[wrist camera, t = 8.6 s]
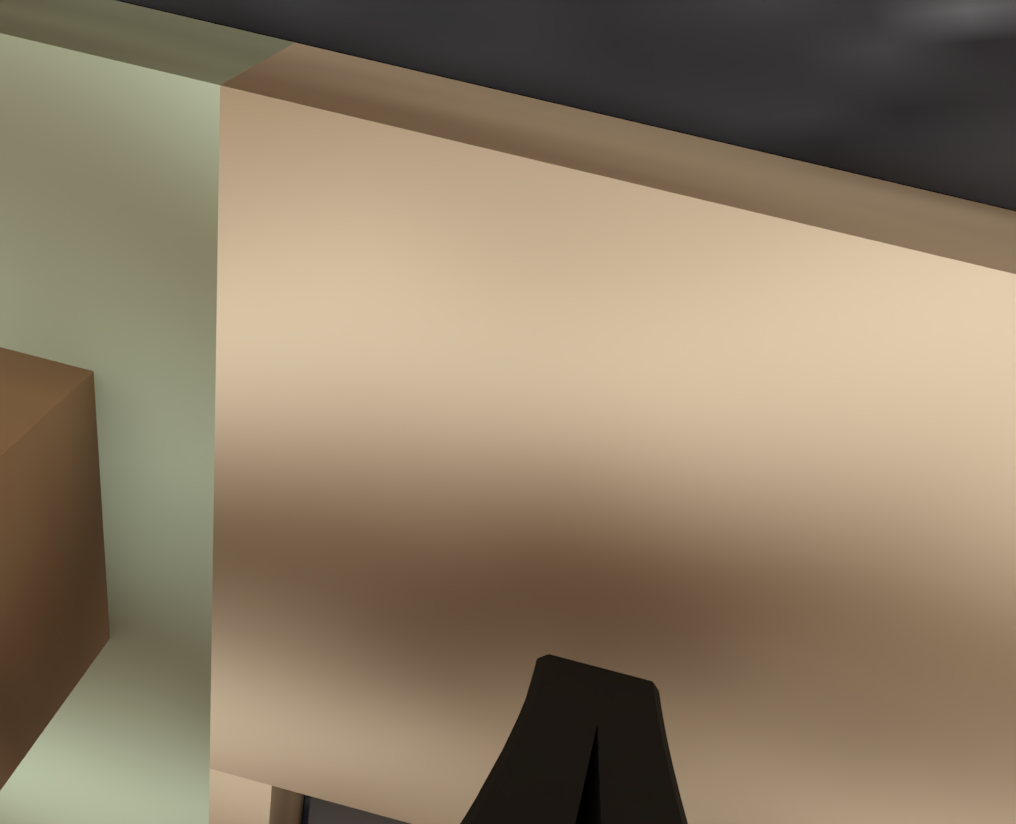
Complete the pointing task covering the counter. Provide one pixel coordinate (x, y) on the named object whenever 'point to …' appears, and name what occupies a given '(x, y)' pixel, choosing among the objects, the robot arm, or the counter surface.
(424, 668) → the board
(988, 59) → the counter surface
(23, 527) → the block
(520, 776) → the robot arm
